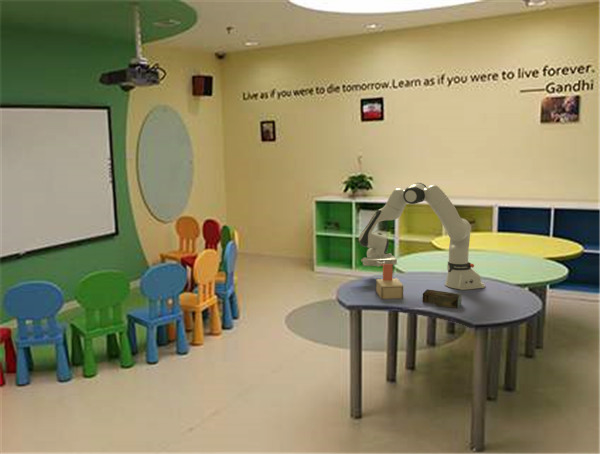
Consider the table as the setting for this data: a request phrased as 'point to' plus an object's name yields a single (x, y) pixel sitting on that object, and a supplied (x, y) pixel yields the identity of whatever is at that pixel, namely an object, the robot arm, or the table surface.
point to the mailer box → (389, 292)
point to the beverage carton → (442, 298)
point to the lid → (388, 277)
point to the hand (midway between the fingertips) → (382, 264)
